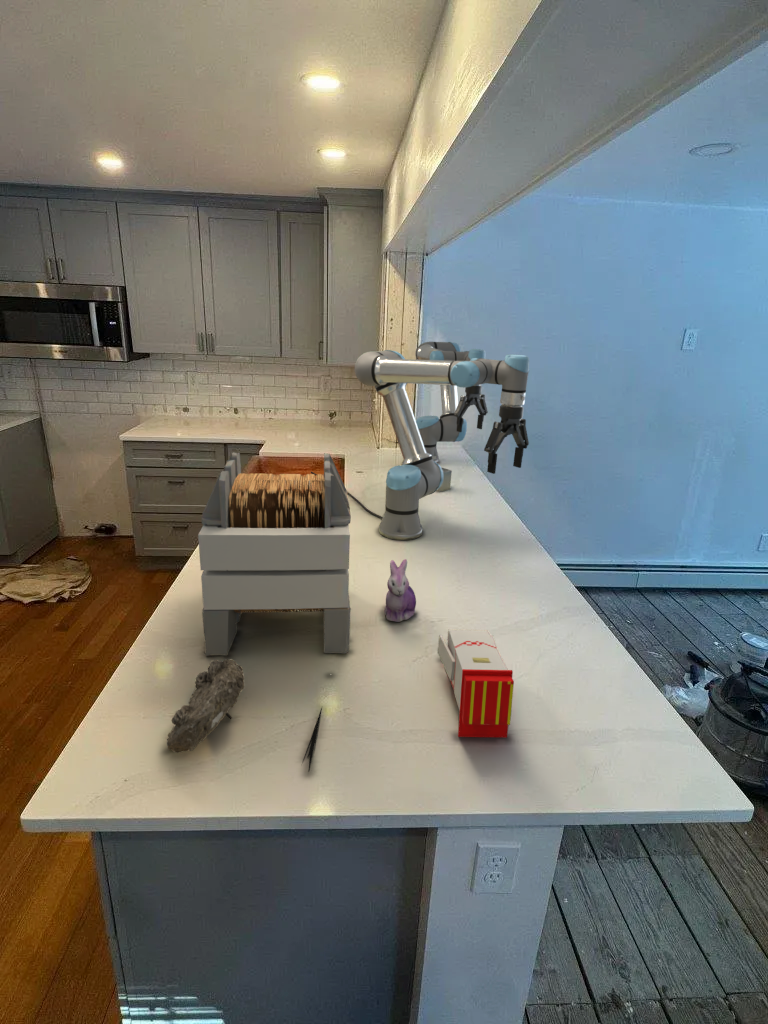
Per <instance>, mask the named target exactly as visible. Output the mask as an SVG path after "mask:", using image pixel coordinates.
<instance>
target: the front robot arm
mask: <svg viewBox="0 0 768 1024" xmlns="http://www.w3.org/2000/svg"><path fill="white" fill-rule="evenodd" d="M504 357H505V358H504V360H501V359H500V360H499V359H489V358H486V359H484V358H473V359H471V360H470V361H447V360H417V359H409V358H408V359H407V358H405V356H404V355H403V354H402V353H400V352H399V351H396V350H391V349H385V350H375V351H372V350H371V351H366V352H364V353H362V354H361V355H359V357H358V358H357V359H356V361H355V364H354V375H355V377H356V378H357V380H358V381H359V383H361V384H363V385H365V386H368V387H374V389H375V391H376V394H378V395H379V396H381V397H382V399H383V402H384V405H385V408H386V411H387V414H388V417H389V420H390V423H391V425H392V429H393V431H394V436H395V437H396V441H398V443H397V444H398V446H399V449H400V452H401V456H402V459H403V460H402V462H401V465H399V464H397V465H393V466H392V467H391V468H389V469H388V471H387V473H386V479H385V504H384V505H385V507H384V508H385V509H384V513H383V515H382V516H381V515H380V514H377V513H375V512H373V511H372V510H370V509H368V508H367V507H366V506H365V505H364V504H363V503H362V502H361V501H360V500H358V499H357V497H355V496H354V495H352V494H351V493H350V492H349V491H347V495H348V496H349V497H351V498H352V499H353V500H354V501H355V502H356V503H357V504H359V505H360V506H361V507H362V508H363V509H364V511H366V512H368V513H369V514H371V515H373V516H375V517H377V518H379V519H381V522H379V525H378V533H379V534H380V535H381V536H382V537H385V538H387V539H389V540H395V541H410V540H415V539H418V538H420V537H421V536H422V535H423V525H422V524H421V518H420V515H419V507H420V506H419V505H420V500H421V499H423V498H426V497H427V496H429V495H433V494H434V493H436V492H437V491H436V490H438V489H439V488H440V487H441V485H442V483H443V479H444V474H443V470H442V468H443V467H442V466H441V465H440V464H439V463H436V462H434V461H433V458H432V455H431V454H429V453H427V452H426V450H425V447H424V444H423V441H422V438H421V435H420V432H419V429H418V426H417V423H416V420H417V419H416V417H415V414H414V411H413V408H412V405H411V403H410V399H409V396H408V393H407V390H406V387H407V384H413V385H414V384H415V385H416V384H418V385H437V386H440V385H454V386H457V388H463V389H465V387H471V386H474V385H480V384H482V385H484V384H490V385H498V386H501V392H500V400H499V401H500V402H499V403H500V404H501V405H499V411H498V417H499V418H500V422H499V421H494V422H493V425H492V430H491V431H490V433H489V437H488V439H487V442H486V444H485V445H484V449H483V451H484V452H485V453H488V456H487V470H486V472H487V473H489V474H492V475H493V474H494V475H495V474H496V471H497V470H496V469H497V461H498V453H497V451H498V450H499V448H500V446H501V445H502V443H503V442H504V440H505V438H507V437H508V436H510V435H512V437H513V440H514V442H515V445H516V447H515V448H514V456H513V464H512V465H513V466H512V467H515V468H518V469H521V468H522V462H523V456H524V450H525V449H526V450H527V448H528V446H529V444H530V442H529V437H528V432H527V431H528V430H527V420H526V419H525V418H523V417H524V410H525V408H524V405H525V402H526V393H527V385H528V379H529V373H530V357H529V356H527V355H523V354H506V355H505V356H504ZM441 467H442V468H441ZM310 474H315V477H316V474H317V473H315V472H313V471H310Z"/></svg>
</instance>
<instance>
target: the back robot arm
mask: <svg viewBox="0 0 768 1024" xmlns="http://www.w3.org/2000/svg"><path fill="white" fill-rule="evenodd" d="M415 358H416V360H447V361H470V360H471V359H473V358H484V359H487V358H486V350H484V349H478V348H471V349H469V350H464V351H462V350H461V346H460V345H459V344H458V343H457V342H451V341H426V342H423V343H421V344H419V345H418V346H417V347H416V349H415ZM482 385H483V384H480V385H474V386H471V387H465V388H464V390H465V391H464V392H465V395H460V398H459V397H458V395H459V394H458V386H454V385H439V387H440V400H441V411H442V413H441V415H440V416H437V415H424V416H420V417H418V418H416V419H415V420H416V423H417V426H418V429H419V432H420V435H421V438H422V441H423V444H424V447H425V450H426V452H427V453H429V454H431V455H432V458H433V461H434V462H436V463H437V464H439V463H440V457H439V453H438V449H437V444H438V442H439V443H443V442H444V443H457V442H462V441H464V439H465V437H466V434H467V430H468V422H467V420H466V419H465V418H463V417H464V415H465V413H466V412H467V410H468V409H469V407H471V406H475V408H476V410H477V412H478V415H477V421H476V429H478V430H483V423H484V420H485V419H484V418H485V416H487V414H488V412H489V410H488V407H487V403H486V396H485V394H483V391H482V390H483V386H482Z"/></svg>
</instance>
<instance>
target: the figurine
mask: <svg viewBox="0 0 768 1024" xmlns="http://www.w3.org/2000/svg"><path fill="white" fill-rule="evenodd" d="M407 567H408V559H406V558H404V559H403V560H402V561H401V563H400V565H399V566H398V565H397V563H396V562H395V561H394V560H393V559H391V560H390V561H389V570H390V576H389V578H388V579H387V589H388V591H387V592H386V594H385V595H386V596H385V607H384V615H385V616H386V620H387V621H391V622H395V623H400V622H402V621H406V620H409V619H410V618H411V617H413V616H414V615H415V610H416V606H417V597H416V593H415V591H414V590H413V587H411V586H410V582H409V579H408V577H407V574H406V571H407Z"/></svg>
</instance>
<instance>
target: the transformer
mask: <svg viewBox="0 0 768 1024" xmlns="http://www.w3.org/2000/svg"><path fill="white" fill-rule="evenodd" d="M241 463H242V462H241V453H240V452H235V451H233V452H231V455H230V457H229V459H227V460H226V463H225V466H224V468H223V470H222V471H220V474H219V475H218V477H217V479H216V482H215V483H214V486H213V489H212V491H211V494H210V495H209V498H208V499H207V502H206V505H205V507H204V509H203V511H202V514H201V517H200V520H201V524H202V527H201V529H200V530H199V532H198V535H197V538H198V550H199V552H198V553H199V563H200V565H199V567H200V571H202V573H201V575H200V580H201V581H200V582H201V594H202V605H203V607H202V609H201V610H202V611H201V617H202V629H203V638H204V639H203V640H204V649H205V650H204V651H205V652H204V655H205V656H206V657H212V656H228V654H229V652H230V650H231V647H232V645H233V643H234V640H235V638H236V635H237V632H238V623H240V620H241V617H242V614H244V613H250V614H251V613H253V614H254V613H257V614H258V613H298V612H301V613H302V612H308V613H309V612H322V614H323V654H344V655H346V654H347V653H349V652H350V639H351V604H350V595H349V594H350V593H349V586H350V585H349V584H350V572H349V571H350V570H349V569H350V549H351V548H350V547H351V545H350V542H351V533H350V532H351V531H350V526H349V525H350V524H351V520H352V516H351V515H352V514H351V509H350V502H349V495H348V494H347V492H348V490H347V488H346V486H345V484H344V482H343V480H342V478H341V474H340V473H339V471H338V469H337V466H336V465H335V462H334V460H333V458H332V455H331V454H330V453H326V452H324V453H323V473H322V474H321V473H318V474H317V473H315V474H316V476H315V474H312V473H306V474H303V475H302V474H301V473H280V474H273V473H244V472H243V473H242V466H241Z"/></svg>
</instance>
